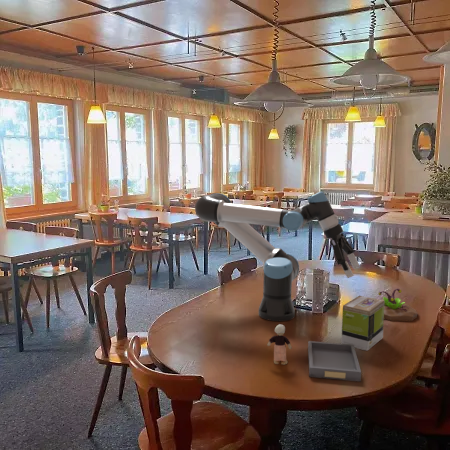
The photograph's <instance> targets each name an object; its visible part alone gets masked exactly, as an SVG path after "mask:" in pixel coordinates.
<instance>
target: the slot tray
mask: <svg viewBox="0 0 450 450" xmlns="http://www.w3.org/2000/svg"><path fill="white" fill-rule="evenodd" d="M307 343H308V345H307V349H308V350H307V354H308V356H307V357H308V377H309V378H319V379H328V380H339V381H340V380H341V381H351V382H361V381H362V380H361V379H362V370H361V367H360V363H359V359H358V356H357V353H356V348H355V347H354V345H352V344H342V343H338V342H337V343H336V342H325V341H313V340H308V342H307Z"/></svg>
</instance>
